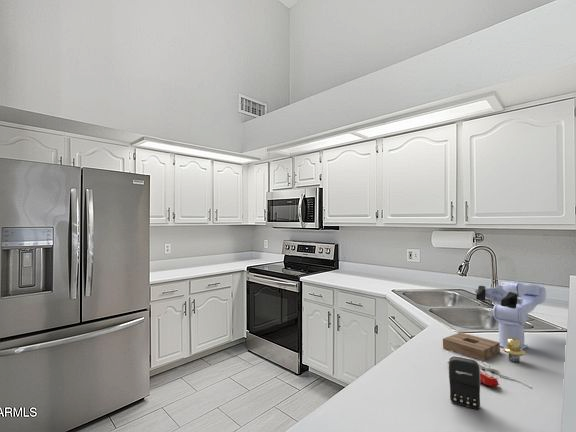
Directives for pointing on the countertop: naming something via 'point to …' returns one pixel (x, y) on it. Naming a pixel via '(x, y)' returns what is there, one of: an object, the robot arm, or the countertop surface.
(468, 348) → the hitch block
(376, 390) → the countertop surface
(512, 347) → the pin
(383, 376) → the countertop surface
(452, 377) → the battery charger
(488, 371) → the pliers
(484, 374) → the candy bar
